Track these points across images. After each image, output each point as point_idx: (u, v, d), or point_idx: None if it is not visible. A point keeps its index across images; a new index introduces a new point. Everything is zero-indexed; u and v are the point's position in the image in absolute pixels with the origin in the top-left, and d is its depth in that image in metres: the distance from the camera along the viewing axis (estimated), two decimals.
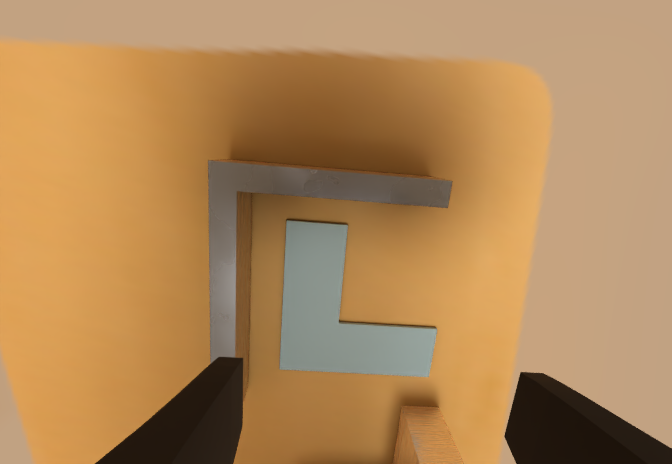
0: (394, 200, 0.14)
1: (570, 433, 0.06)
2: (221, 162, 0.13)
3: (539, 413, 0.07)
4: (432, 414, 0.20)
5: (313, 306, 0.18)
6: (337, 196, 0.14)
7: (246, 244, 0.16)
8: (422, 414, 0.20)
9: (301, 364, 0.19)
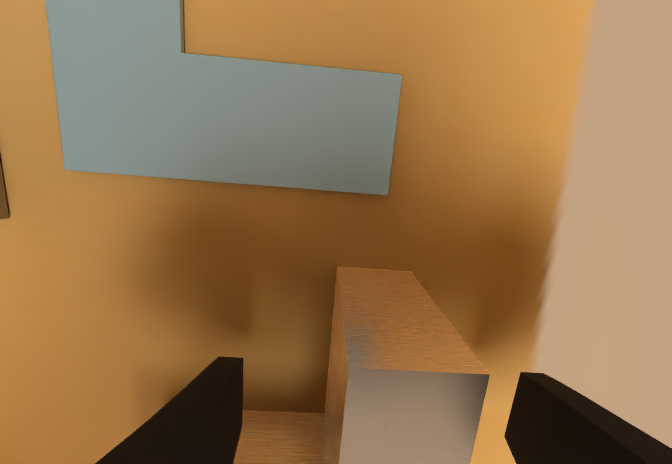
0: None
1: (570, 433, 0.06)
2: None
3: (539, 413, 0.07)
4: (396, 276, 0.10)
5: (117, 3, 0.08)
6: None
7: None
8: (375, 276, 0.09)
9: (110, 157, 0.09)
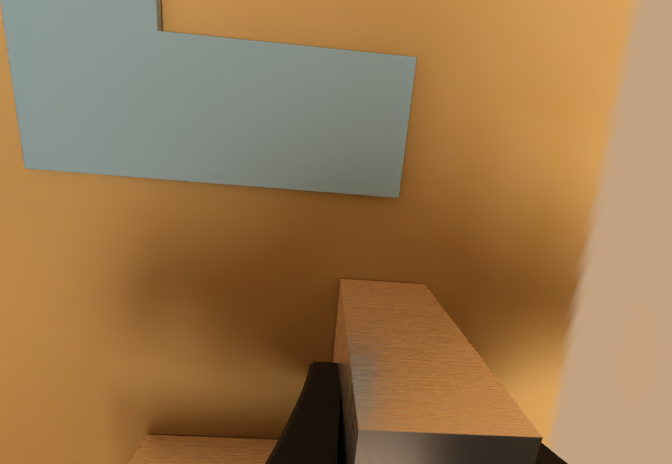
0: None
1: None
2: None
3: None
4: (409, 292, 0.08)
5: None
6: None
7: None
8: (385, 291, 0.08)
9: (77, 153, 0.08)
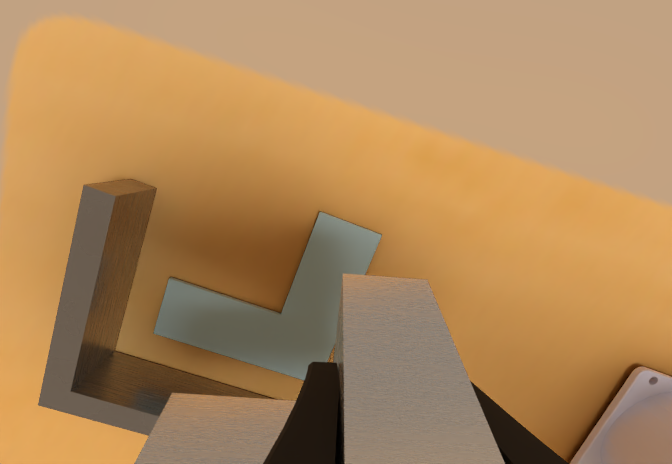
0: (99, 251, 0.13)
1: None
2: (41, 395, 0.14)
3: None
4: (410, 291, 0.08)
5: (253, 334, 0.17)
6: (86, 306, 0.13)
7: (158, 381, 0.16)
8: (386, 290, 0.08)
9: None
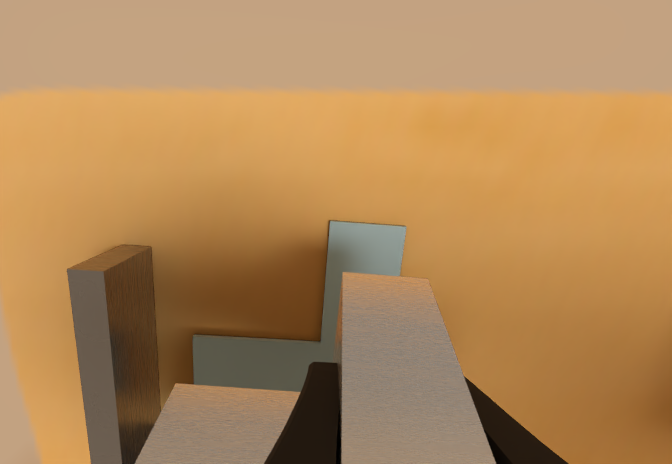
0: (106, 334, 0.11)
1: None
2: None
3: None
4: (410, 291, 0.08)
5: (297, 371, 0.15)
6: (111, 395, 0.12)
7: None
8: (386, 290, 0.08)
9: None
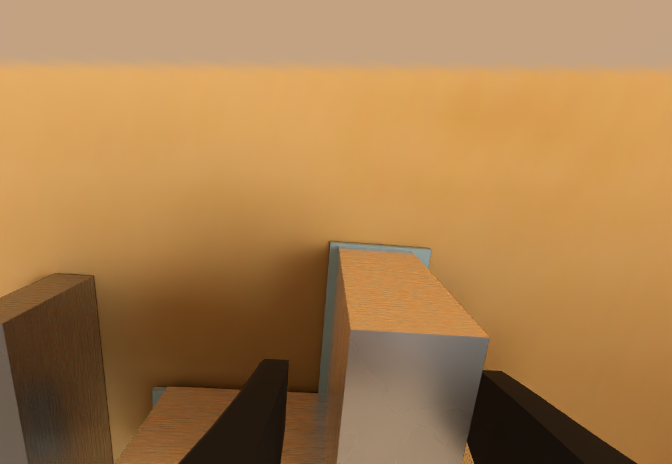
0: (13, 408, 0.08)
1: (518, 431, 0.06)
2: None
3: (493, 411, 0.07)
4: (397, 255, 0.10)
5: None
6: None
7: None
8: (376, 254, 0.10)
9: None
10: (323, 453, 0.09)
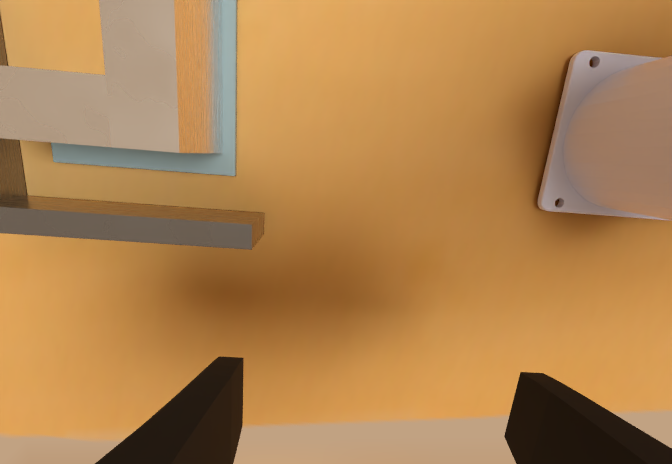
0: None
1: (570, 433, 0.06)
2: None
3: (539, 413, 0.07)
4: None
5: None
6: None
7: (68, 202, 0.16)
8: None
9: (226, 150, 0.16)
10: None
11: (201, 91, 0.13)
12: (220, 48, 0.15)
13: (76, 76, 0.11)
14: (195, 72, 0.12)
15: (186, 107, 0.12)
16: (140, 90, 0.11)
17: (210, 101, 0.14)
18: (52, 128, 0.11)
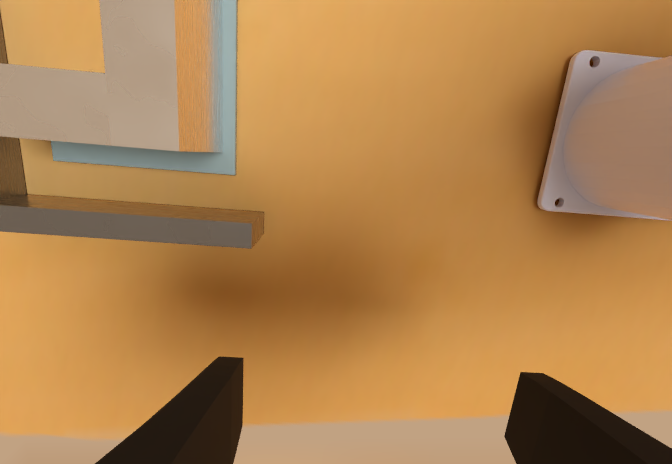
0: None
1: (570, 433, 0.06)
2: None
3: (539, 413, 0.07)
4: None
5: None
6: None
7: (68, 201, 0.16)
8: None
9: (226, 149, 0.16)
10: None
11: (201, 90, 0.13)
12: (220, 47, 0.15)
13: (76, 74, 0.11)
14: (195, 71, 0.12)
15: (186, 105, 0.12)
16: (140, 88, 0.11)
17: (210, 99, 0.14)
18: (52, 127, 0.11)
